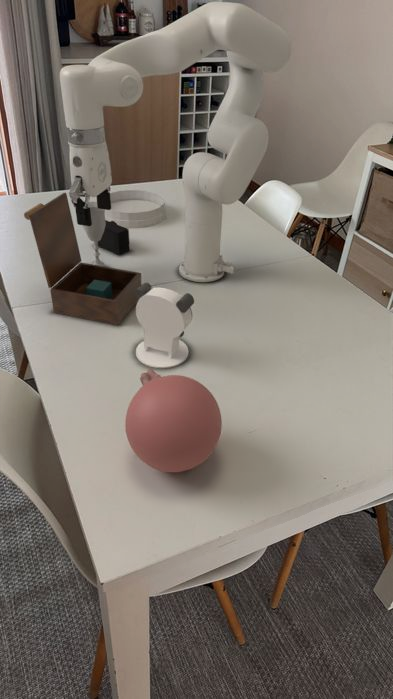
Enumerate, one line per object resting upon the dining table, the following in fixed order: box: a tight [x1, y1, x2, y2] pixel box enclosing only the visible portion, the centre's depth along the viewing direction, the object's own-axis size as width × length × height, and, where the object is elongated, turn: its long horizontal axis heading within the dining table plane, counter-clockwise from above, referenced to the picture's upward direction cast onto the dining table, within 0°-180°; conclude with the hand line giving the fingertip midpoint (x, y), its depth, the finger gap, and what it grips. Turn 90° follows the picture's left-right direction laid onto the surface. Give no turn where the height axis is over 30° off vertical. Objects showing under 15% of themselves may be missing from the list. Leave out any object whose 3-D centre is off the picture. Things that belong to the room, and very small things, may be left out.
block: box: [86, 280, 112, 299], centre depth 123 cm, size 4×4×4 cm
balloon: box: [124, 368, 223, 473], centre depth 83 cm, size 15×20×15 cm
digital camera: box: [98, 220, 131, 256], centre depth 150 cm, size 10×5×7 cm, turn 50°
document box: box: [49, 262, 143, 326], centre depth 124 cm, size 17×15×6 cm
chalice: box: [82, 201, 107, 267], centre depth 134 cm, size 7×7×18 cm
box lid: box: [23, 192, 82, 289], centre depth 119 cm, size 17×15×5 cm
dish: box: [105, 189, 166, 229], centre depth 172 cm, size 22×22×5 cm
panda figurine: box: [135, 282, 195, 369], centre depth 105 cm, size 12×11×15 cm
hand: (94, 216), depth 112 cm, fingers open, 9 cm apart
